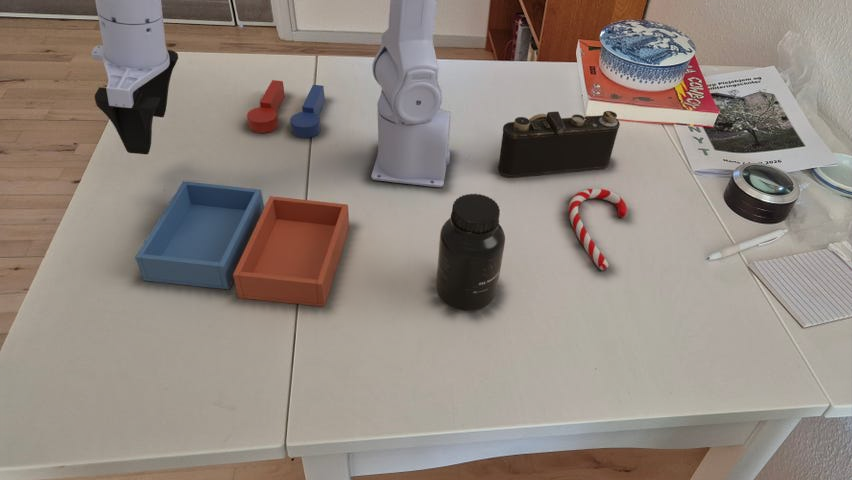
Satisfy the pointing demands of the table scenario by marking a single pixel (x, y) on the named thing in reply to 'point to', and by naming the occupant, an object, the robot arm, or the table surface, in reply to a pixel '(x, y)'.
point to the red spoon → (267, 109)
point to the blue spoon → (309, 114)
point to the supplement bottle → (470, 253)
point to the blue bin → (201, 235)
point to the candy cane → (579, 226)
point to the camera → (557, 144)
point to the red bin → (293, 252)
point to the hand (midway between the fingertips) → (146, 132)
